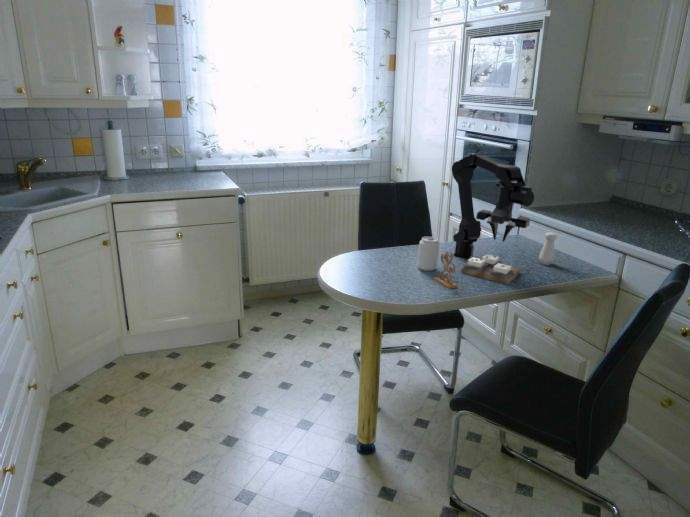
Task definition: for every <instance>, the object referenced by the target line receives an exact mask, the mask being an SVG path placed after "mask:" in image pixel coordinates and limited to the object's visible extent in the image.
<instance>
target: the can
mask: <svg viewBox="0 0 690 517" xmlns="http://www.w3.org/2000/svg"><path fill="white" fill-rule="evenodd" d="M440 245H441V244H440V242H439V239H438V238H437V237H434V236H423V237H421V240H420V241H419V245H418V254H417V263H416V265H417V267H418V268H419V270H422V271H425V272H432V271H434V270H436V269H437V267H438V259H439V252H440Z"/></svg>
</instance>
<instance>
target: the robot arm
mask: <svg viewBox="0 0 690 517" xmlns="http://www.w3.org/2000/svg"><path fill="white" fill-rule="evenodd" d="M478 168H481V169H483V170H485V171H488V172H489V173H492V174H494V175H495V178H496V179H498V180H499V182H497V183H495V187H498V188H499V191H498V197H497V203H496V205H495V208H494V209H493V210H492V211H491V210H486V209H481V210H479V211H478V212H477V213H476V217H475V212H474V203H473V194H472V186H471V182H472V179H473V177H474V170H477V169H478ZM521 170H522V169H521V168H520V167H519V166H517V165H510V164H503V163H501V162H499V161H496V160H495V159H492V158H489V157H488V156H486V155H484V154H482V153H479V152H478V153H477V152H476V153H470V154H469V155H468V156H466V157H464V158H461V159H459V160H457V161H454V163H453V164H452V165H451V172H452V173H451V174H452V177H453V179H454V180H455V182H456V183H457V186H458V195H459V204H460V213H461V220H460V222H459V225H458V231H457V232H456V233H455V234H453V235H452V237H453V241H454V242H456V243H455V250H454V253H452V255H453V257H454V256H455V257H458V258H463V259H466V260H469V259H470V258H472V257H474V256H473V255H474V249H475V246H474V243H477V242H478V239H479V238H480V236H481V234H482V231H483V230H482V227H481V225H482V224H481V221H485V220H486V219H487V221H486V224H488V225H490V227H491V230H492V231H491V232H492V237H493V240H494V241H496V239H497V237H498V230H499V229H498V228H499V225H503V224H504V223H505V222H506V223H507V224H506V225H505V230H504V233H503V237H502V242H503V243H504V242H505V241H506V239H507V237H508V236H509V235H510V232H511V231H512V230H513V229H514V228H516V227H517V228H521V229H527V228H528V227H529V226H530V222H531V221H530V218H529V217H524V216H518V217H517V218H516V217H513V208H514V205H515V204H516V205H520V206H524V207H531V206H532V204H533V203H534V201H535V195H534V192H533V191H532V187H531V186H526V185H527V184H526V182H525V180H524V177H523V175H522V174H523V173H522V171H521ZM480 220H481V221H480Z"/></svg>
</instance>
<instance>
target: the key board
mask: <svg viewBox="0 0 690 517" xmlns="http://www.w3.org/2000/svg"><path fill="white" fill-rule="evenodd" d="M467 263H468V261H467V262H465V263H464V264H463V266H461V270H460V273H462V274H464V275H465V274H466V275H470V276H474V277H478V278H481V279H486V280H490V281H493V282H497V283H500V282H501V284H505V285H509V284H510V283H511V282H512V281H514V279H516V278H517V277H518V275H520V274H519V273H521V268H519V267H516V266H512V265H510V266H511V271H510V272H509V273H507V274H503V273H499V272H495V271H493V269H494V266H495V265H496V264H498V263H500V264H503V263H502V260H499V261H498V262H497V263H496V264H490V263H486V262H485V264H484V265H483V266H482V267H480V268H479V267H475V266H471V265H467Z"/></svg>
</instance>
